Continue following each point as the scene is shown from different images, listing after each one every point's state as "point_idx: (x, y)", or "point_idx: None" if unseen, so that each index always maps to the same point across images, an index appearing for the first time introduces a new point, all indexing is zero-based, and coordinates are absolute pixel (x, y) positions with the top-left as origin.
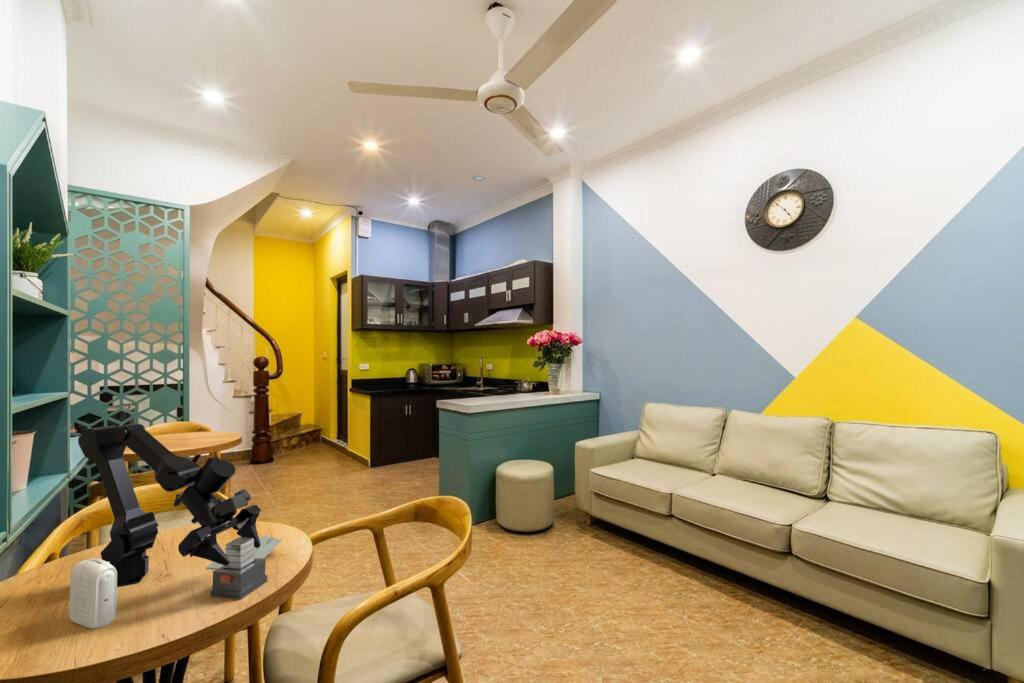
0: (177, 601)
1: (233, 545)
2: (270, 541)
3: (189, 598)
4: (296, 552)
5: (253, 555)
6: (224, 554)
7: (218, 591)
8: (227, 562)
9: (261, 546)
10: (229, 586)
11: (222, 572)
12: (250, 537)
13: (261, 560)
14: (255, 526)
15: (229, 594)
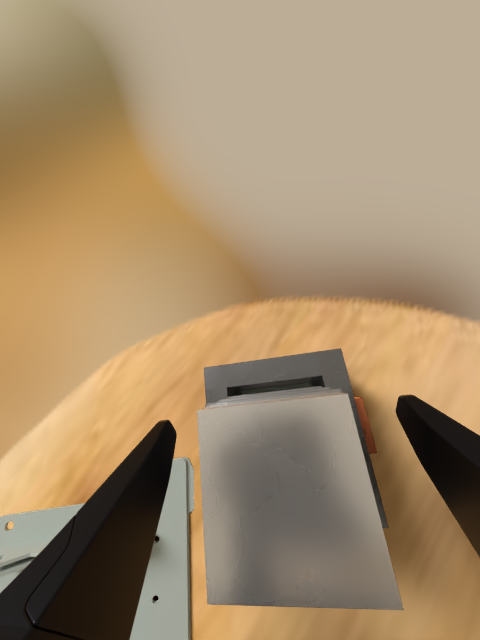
0: (435, 596)
1: (367, 480)
2: (16, 555)
3: (396, 559)
4: (54, 436)
5: (233, 396)
6: (466, 447)
7: None
8: (419, 401)
9: None
10: None
11: (368, 456)
12: (133, 532)
13: (220, 369)
14: (4, 594)
15: None
